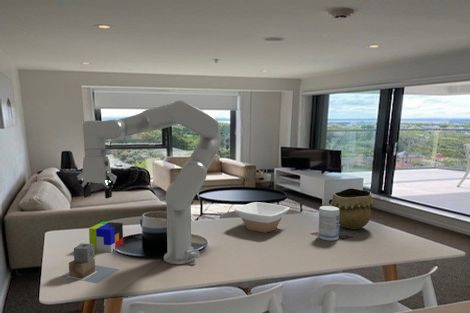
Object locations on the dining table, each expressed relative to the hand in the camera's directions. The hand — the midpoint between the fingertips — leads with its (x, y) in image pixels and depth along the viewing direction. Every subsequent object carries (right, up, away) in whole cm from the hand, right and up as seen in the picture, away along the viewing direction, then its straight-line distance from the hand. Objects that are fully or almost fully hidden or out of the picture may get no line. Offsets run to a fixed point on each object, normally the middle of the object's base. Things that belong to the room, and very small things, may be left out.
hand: (97, 197), depth 133 cm
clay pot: (+114, -22, +48) cm, 126 cm away
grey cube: (-1, -22, -8) cm, 23 cm away
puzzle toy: (-4, -25, +19) cm, 31 cm away
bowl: (+67, -22, +48) cm, 85 cm away
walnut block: (-2, -27, -9) cm, 28 cm away
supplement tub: (+98, -24, +33) cm, 106 cm away
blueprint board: (+1, -27, -8) cm, 28 cm away
